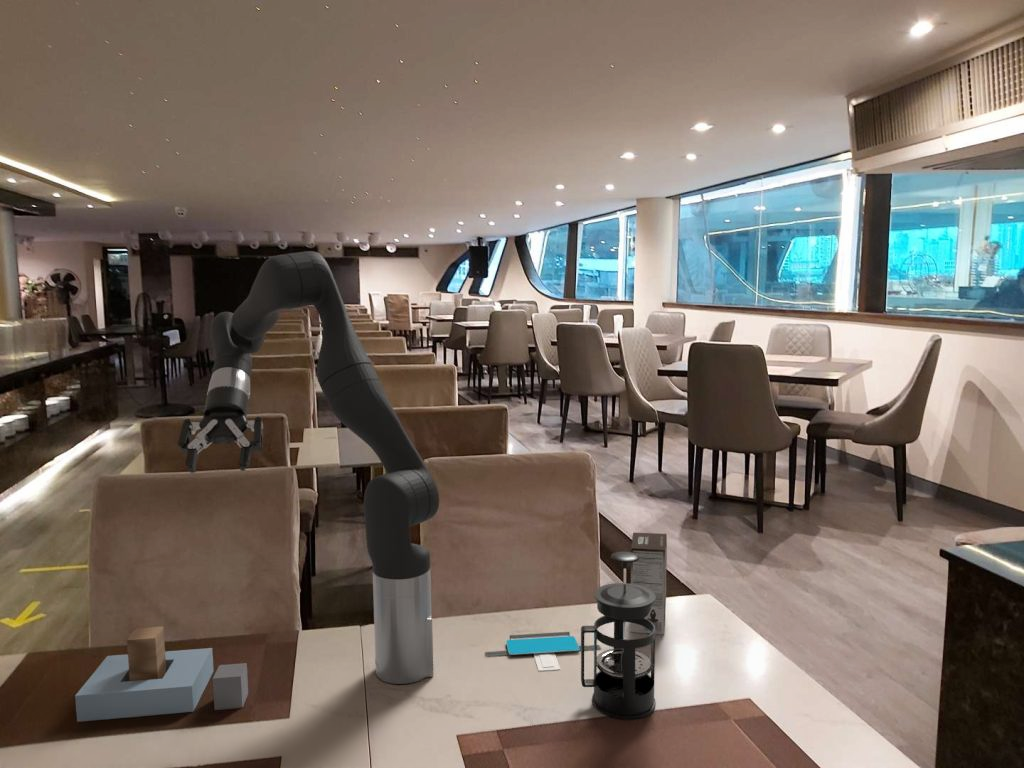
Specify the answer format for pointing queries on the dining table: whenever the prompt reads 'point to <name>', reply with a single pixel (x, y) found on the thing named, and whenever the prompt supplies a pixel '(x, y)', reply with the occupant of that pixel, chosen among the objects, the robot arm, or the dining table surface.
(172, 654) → the blue-grey flat frame
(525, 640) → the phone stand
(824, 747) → the dining table surface
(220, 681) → the grey upright block
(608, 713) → the french press
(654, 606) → the coffee box
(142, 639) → the walnut pin
